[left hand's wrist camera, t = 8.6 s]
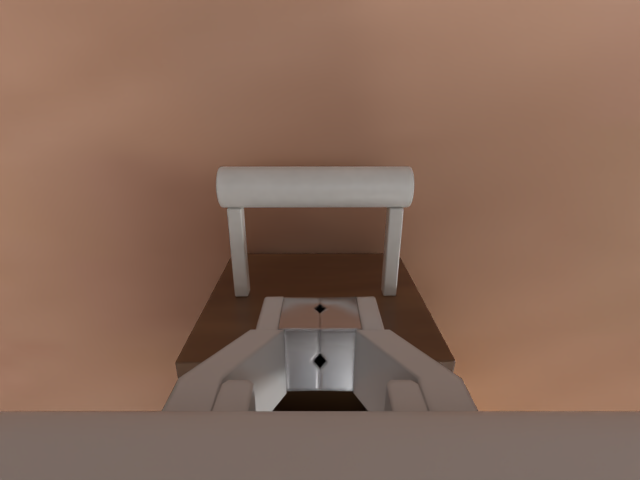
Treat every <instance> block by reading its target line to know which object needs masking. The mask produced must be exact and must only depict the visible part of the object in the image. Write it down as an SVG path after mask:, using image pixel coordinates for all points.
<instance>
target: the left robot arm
mask: <svg viewBox="0 0 640 480" xmlns="http://www.w3.org/2000/svg"><path fill="white" fill-rule="evenodd" d="M286 391H354V392H353V393H354V394H355V395H356V397H357V398H358V399H359V400H360V402H361V403H362V404H363V405H364V407H365V408H366V409H367V410H368V411H273V409H274V408H275V407H276V406H277V405H278V403H279V402H280V401H281V400H282V398H283V397H284V396H285V395H286V393H287V392H286ZM0 480H640V411H478V409H477V407H476V405H475V404H474V402H473V400H472V398H471V396H470V394H469V392H468V390H467V388H466V386H465V384H464V382H463V380H462V378H460V377H459V376H457V375H456V374H454V373H453V372H451V371H450V370H448V369H447V368H445V367H444V366H442V365H441V364H440V363H438V362H437V361H435V360H434V359H432V358H431V357H429V356H428V355H426V354H425V353H423V352H422V351H420V350H419V349H417V348H416V347H414V346H413V345H412V344H410V343H409V342H407V341H406V340H404V339H403V338H401V337H400V336H398V335H397V334H395V333H394V332H392V331H391V330H384V326H383V323H382V319H381V316H380V313H379V309H378V306H377V302H376V299H375V297H374V296H368V297H326V298H320V297H283V296H278V297H265V299H264V302H263V305H262V309H261V312H260V316H259V319H258V323H257V326H256V330H249V331H248V332H246V333H245V334H243V335H242V336H240V337H239V338H237V339H236V340H234V341H233V342H231V343H230V344H228V345H227V346H225V347H224V348H222V349H221V350H220V351H218V352H217V353H215V354H214V355H212V356H211V357H209V358H208V359H206V360H205V361H203V362H202V363H200V364H199V365H197V366H196V367H194V368H193V369H191V370H190V371H188V372H187V373H185V374H184V375H183V376H181V377H180V378H178V380H177V382H176V384H175V386H174V388H173V390H172V392H171V394H170V396H169V398H168V400H167V402H166V404H165V406H164V407H163V409H162V411H0Z"/></svg>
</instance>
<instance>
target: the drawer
mask: <svg viewBox="0 0 640 480" xmlns="http://www.w3.org/2000/svg"><path fill="white" fill-rule="evenodd" d="M216 193H217V198H218V202H219V204H220V206H221V207H223V208H228V209H227V217H228V227H229V238H230V248H231V258H230V260H229V262H228V264H227V266H226V268H225V270H224V272H223V274H222V276H221V277H220V279H219V281H218V283H217V285H216V287H215V289H214V291H213V293H212V294H211V296H210V298H209V300H208V302H207V304H206V306H205V308H204V310H203V311H202V313H201V315H200V317H199V319H198V321H197V323H196V325H195V327H194V329H193V330H192V332H191V334H190V336H189V338H188V340H187V342H186V344H185V346H184V347H183V349H182V351H181V353H180V355H179V357H178V359H177V361H176V369H177V375H178V378H180V377H181V376H183V375H184V374H185V373H187V372H188V371H190V370H191V369H193V368H194V367H196V366H197V365H199V364H200V363H202V362H203V361H205V360H206V359H208V358H209V357H211V356H212V355H214V354H215V353H217V352H218V351H220V350H221V349H222V348H224V347H225V346H227V345H228V344H230V343H231V342H233V341H234V340H236V339H237V338H239V337H240V336H242V335H243V334H245V333H246V332H248V331H249V330H256V326H257V323H258V319H259V316H260V312H261V309H262V305H263V302H264V299H265V297H278V296H283V297H320V298H326V297H368V296H374V297H375V299H376V302H377V306H378V309H379V313H380V316H381V319H382V323H383V326H384V330H391V331H392V332H394V333H395V334H397V335H398V336H400V337H401V338H403V339H404V340H406V341H407V342H409V343H410V344H412V345H413V346H414V347H416V348H417V349H419V350H420V351H422V352H423V353H425V354H426V355H428V356H429V357H431V358H432V359H434V360H435V361H437V362H438V363H440V364H441V365H442V366H444V367H445V368H447V369H448V370H450V371H451V372H453V371H454V366H455V359H454V357H453V355H452V354H451V352H450V350H449V348H448V346H447V344H446V342H445V340H444V339H443V337H442V335H441V333H440V331H439V329H438V327H437V326H436V324H435V322H434V320H433V318H432V316H431V314H430V312H429V311H428V309H427V307H426V305H425V303H424V301H423V299H422V298H421V296H420V294H419V292H418V290H417V288H416V286H415V284H414V283H413V281H412V279H411V277H410V275H409V273H408V271H407V270H406V268H405V266H404V264H403V262H402V260H401V258H400V246H401V234H402V223H403V212H404V209H403V208H402V207H409V206H410V205H411V203H412V200H413V195H414V175H413V171H412V168H411V167H409V166H221V167H219V169H218V171H217V176H216ZM268 207H387V214H386V228H385V242H384V254H247V243H246V230H245V217H244V208H268ZM286 392H287V393H286V395H285V396H284V397H283V398H282V400H281V401H280V402H279V403H278V405H277V406H276V407H275V408H274V409H273V411H368V410H367V409H366V408H365V407H364V405H363V404H362V403H361V402H360V400H359V399H358V398H357V397H356V395H355V394H354V393H353V392H354V391H286Z"/></svg>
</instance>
